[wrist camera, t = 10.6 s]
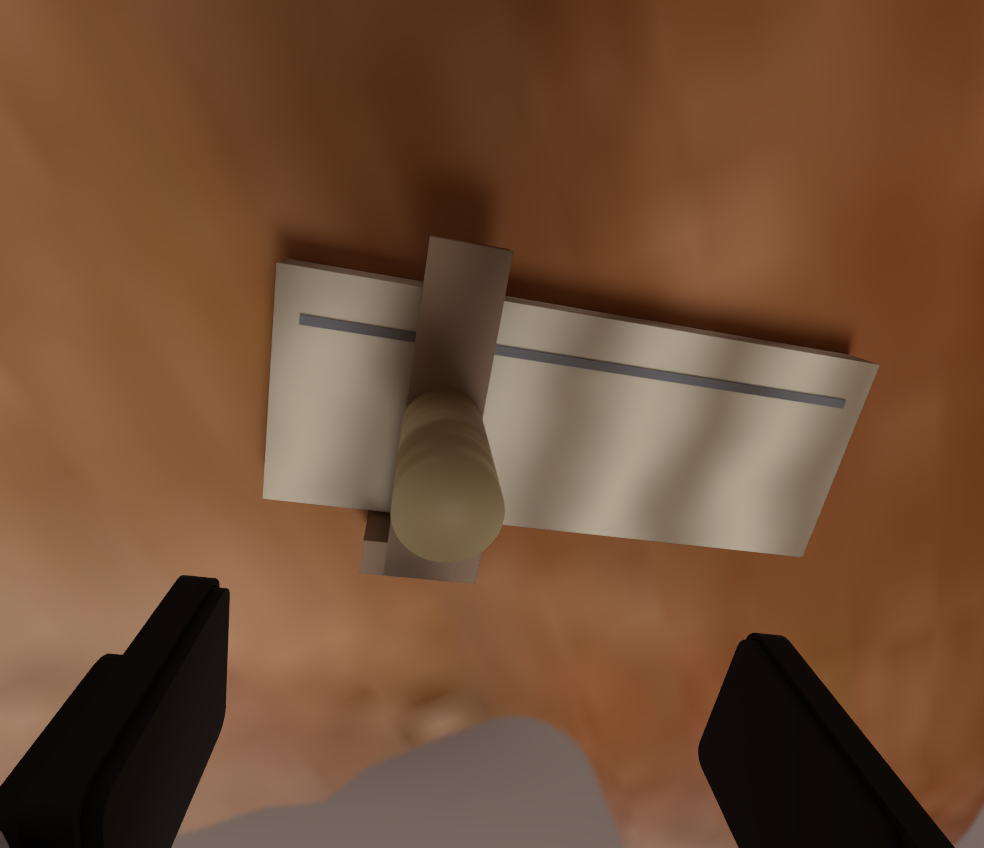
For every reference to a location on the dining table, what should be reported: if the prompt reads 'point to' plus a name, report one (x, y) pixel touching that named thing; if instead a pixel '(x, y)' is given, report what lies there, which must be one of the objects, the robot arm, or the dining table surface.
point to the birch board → (567, 415)
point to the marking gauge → (446, 425)
